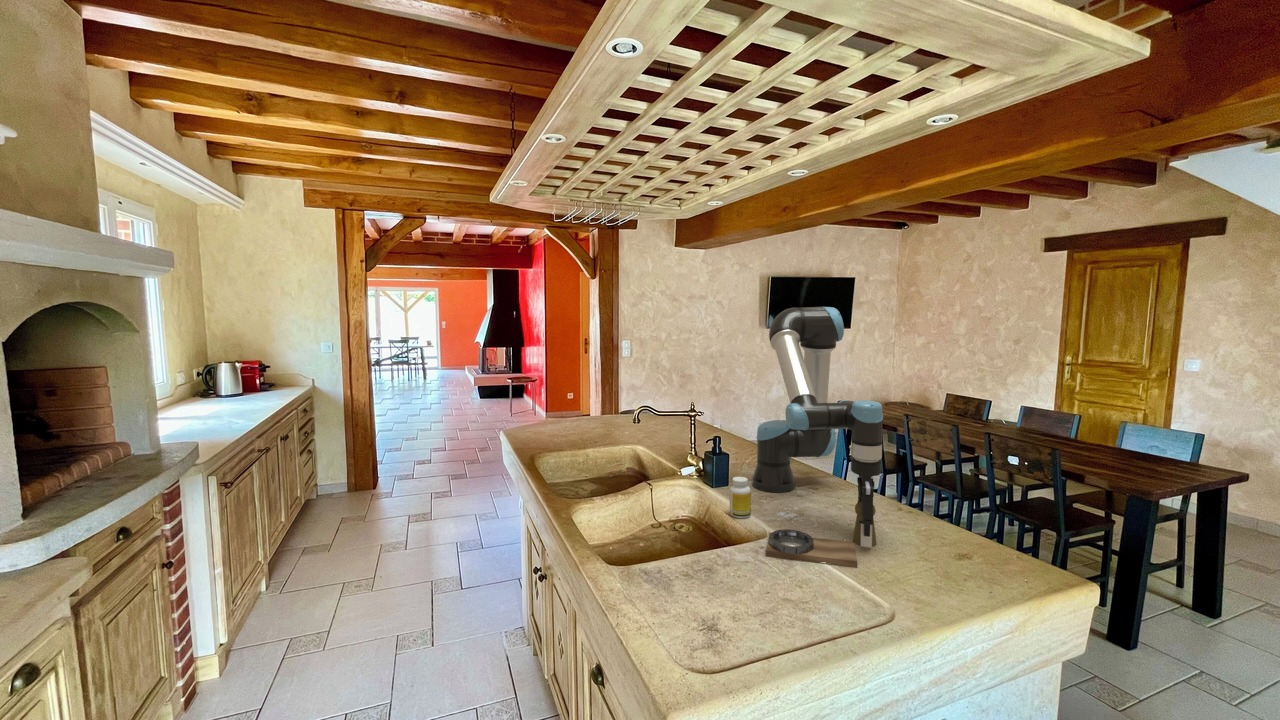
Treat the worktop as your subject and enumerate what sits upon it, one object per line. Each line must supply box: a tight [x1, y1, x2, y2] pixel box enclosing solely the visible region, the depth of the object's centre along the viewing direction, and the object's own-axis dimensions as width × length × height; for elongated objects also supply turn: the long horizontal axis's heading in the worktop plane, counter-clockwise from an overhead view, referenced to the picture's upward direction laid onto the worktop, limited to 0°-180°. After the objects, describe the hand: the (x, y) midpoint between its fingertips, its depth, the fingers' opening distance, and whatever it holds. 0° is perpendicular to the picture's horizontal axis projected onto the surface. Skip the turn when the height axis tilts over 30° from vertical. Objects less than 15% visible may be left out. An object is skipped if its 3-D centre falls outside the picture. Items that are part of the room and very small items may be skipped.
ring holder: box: [768, 528, 814, 554], centre depth 138 cm, size 11×11×2 cm
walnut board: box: [765, 532, 858, 568], centre depth 137 cm, size 11×22×2 cm, turn 72°
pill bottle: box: [729, 476, 752, 519], centre depth 162 cm, size 6×6×12 cm
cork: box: [852, 501, 878, 548], centre depth 141 cm, size 6×6×11 cm
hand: (864, 539), depth 142 cm, fingers open, 8 cm apart
